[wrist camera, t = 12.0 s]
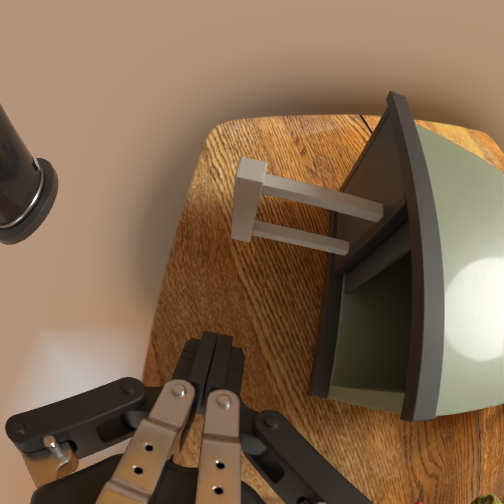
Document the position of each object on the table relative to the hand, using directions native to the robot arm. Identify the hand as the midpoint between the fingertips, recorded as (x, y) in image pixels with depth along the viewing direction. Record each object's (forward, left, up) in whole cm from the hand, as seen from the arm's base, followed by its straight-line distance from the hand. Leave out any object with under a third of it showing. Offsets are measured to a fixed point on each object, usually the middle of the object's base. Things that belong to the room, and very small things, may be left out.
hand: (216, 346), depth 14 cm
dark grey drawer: (+4, +11, -5) cm, 13 cm away
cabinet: (+14, +6, -6) cm, 17 cm away
